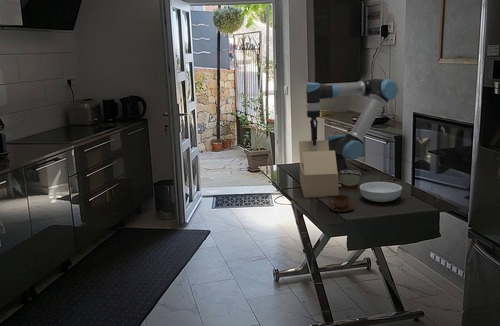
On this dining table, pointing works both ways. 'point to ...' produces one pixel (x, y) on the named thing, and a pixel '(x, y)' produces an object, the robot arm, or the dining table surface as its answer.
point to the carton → (318, 184)
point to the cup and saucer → (341, 203)
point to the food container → (349, 179)
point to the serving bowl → (380, 191)
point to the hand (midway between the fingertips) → (314, 150)
